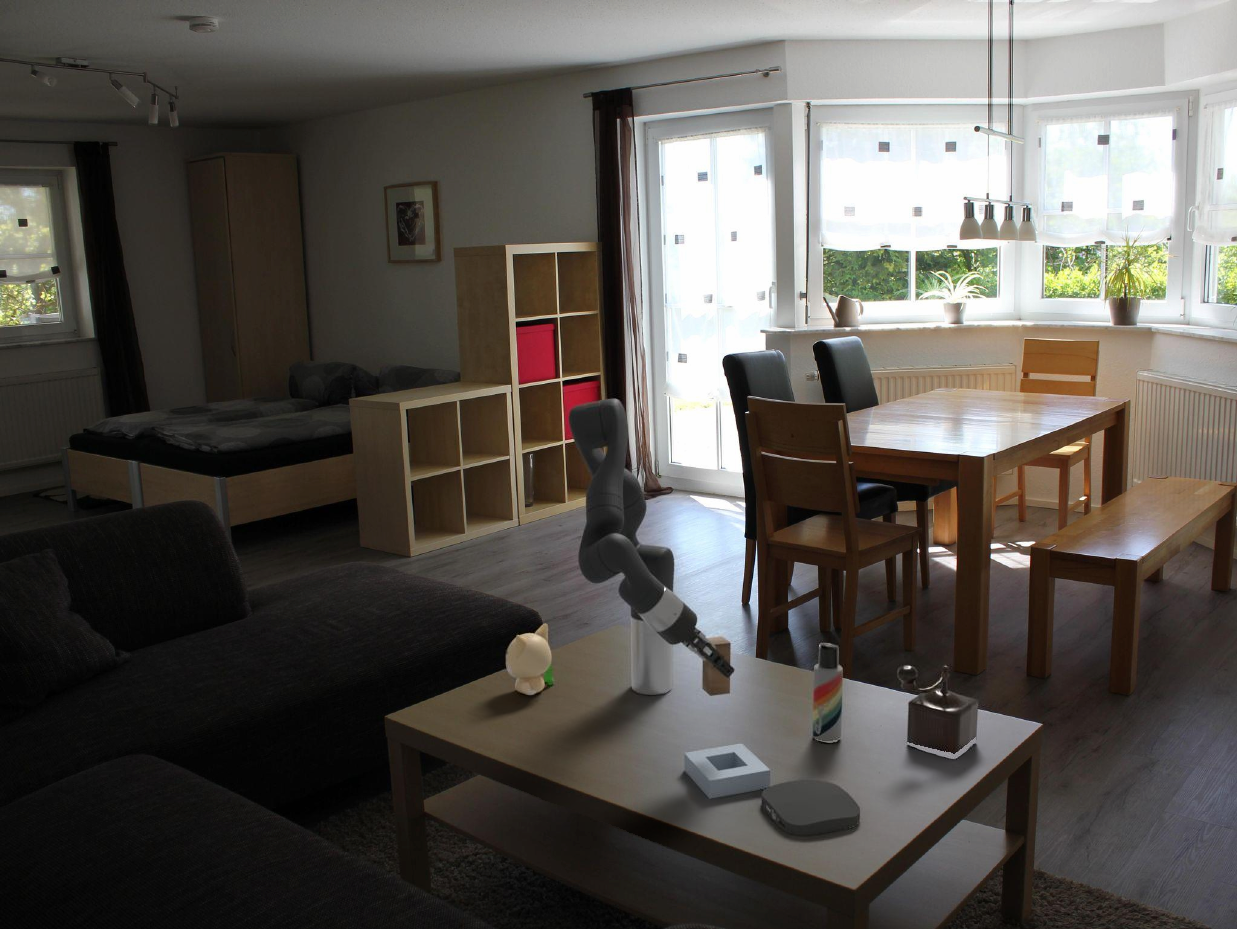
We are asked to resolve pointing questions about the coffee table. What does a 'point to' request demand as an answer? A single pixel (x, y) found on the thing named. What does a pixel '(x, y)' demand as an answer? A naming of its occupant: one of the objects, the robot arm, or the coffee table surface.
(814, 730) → the lotion bottle
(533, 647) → the kitten
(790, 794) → the media streaming box
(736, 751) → the socket
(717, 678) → the peg
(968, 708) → the manual coffee grinder
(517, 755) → the coffee table surface
